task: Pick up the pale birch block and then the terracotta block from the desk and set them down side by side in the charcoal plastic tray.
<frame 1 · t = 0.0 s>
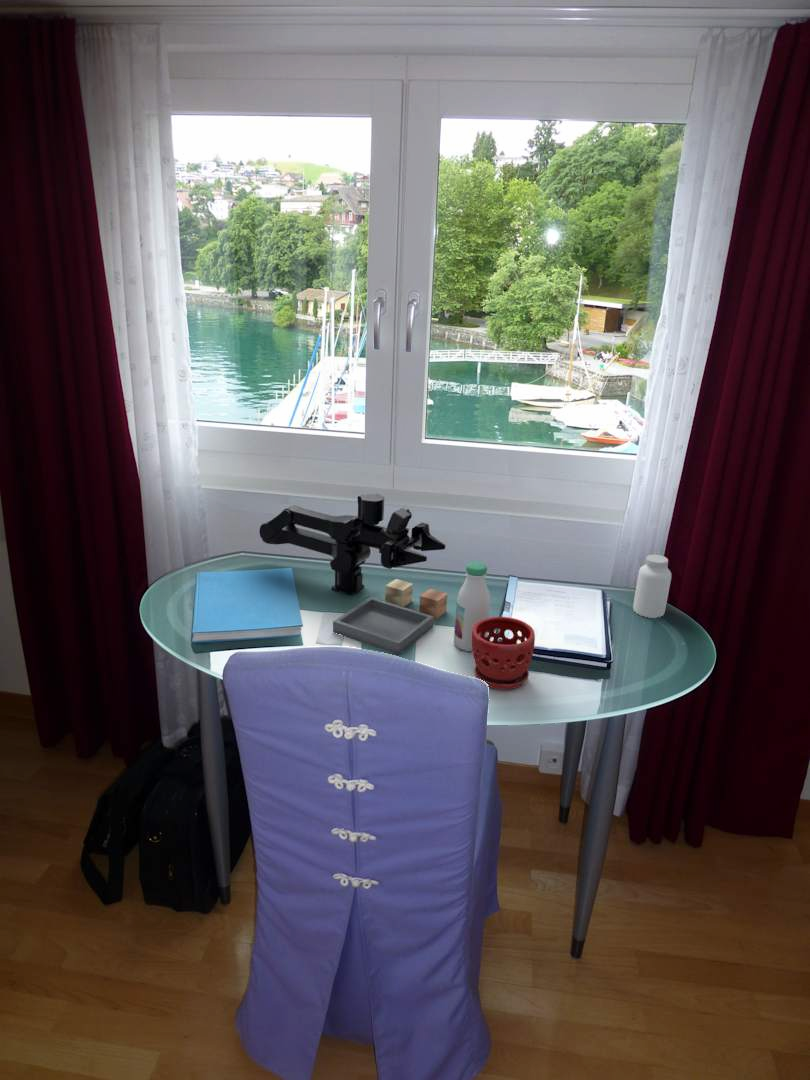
hand: (435, 552, 196), 17 cm above the table, tool horizontal, fingers open, 9 cm apart
terracotta block: (432, 612, 203), on the table
plant pot: (498, 679, 175), on the table
pill bottle: (648, 612, 209), on the table
charcoal tray: (383, 630, 193), on the table
milk bottle: (470, 645, 189), on the table
birch block: (398, 602, 208), on the table
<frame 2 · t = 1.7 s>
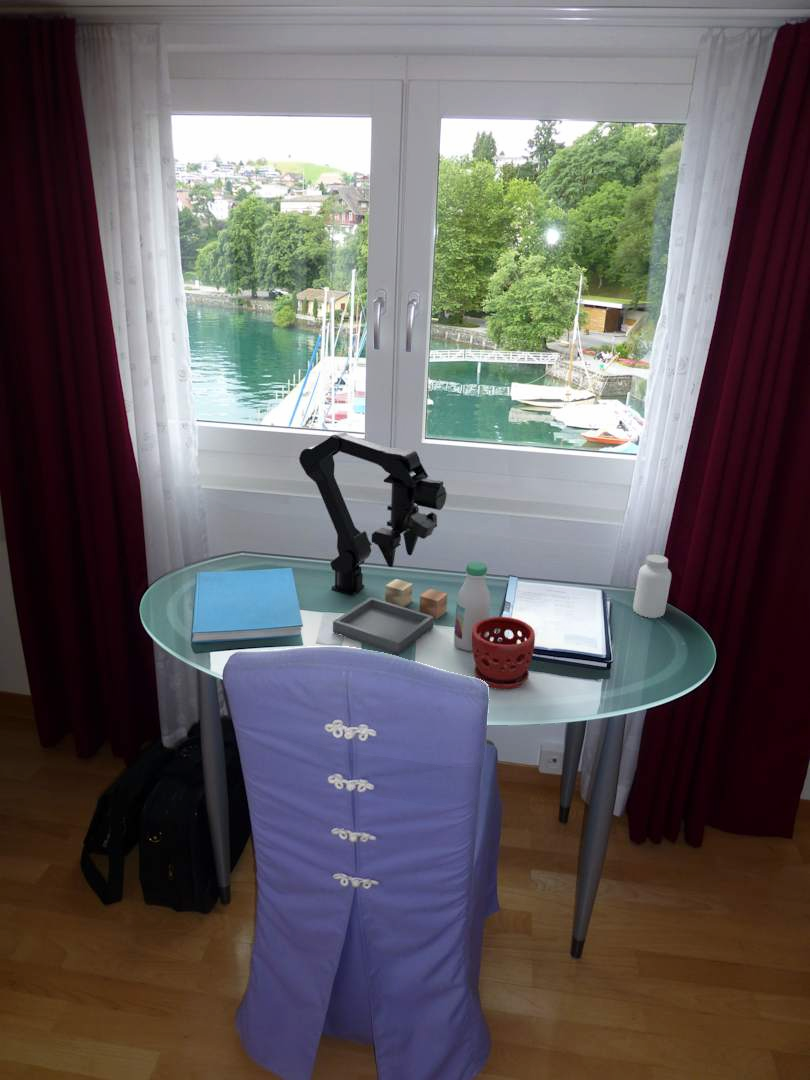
hand: (400, 560, 203), 11 cm above the table, tool pointing down, fingers open, 9 cm apart
nothing on the table moved.
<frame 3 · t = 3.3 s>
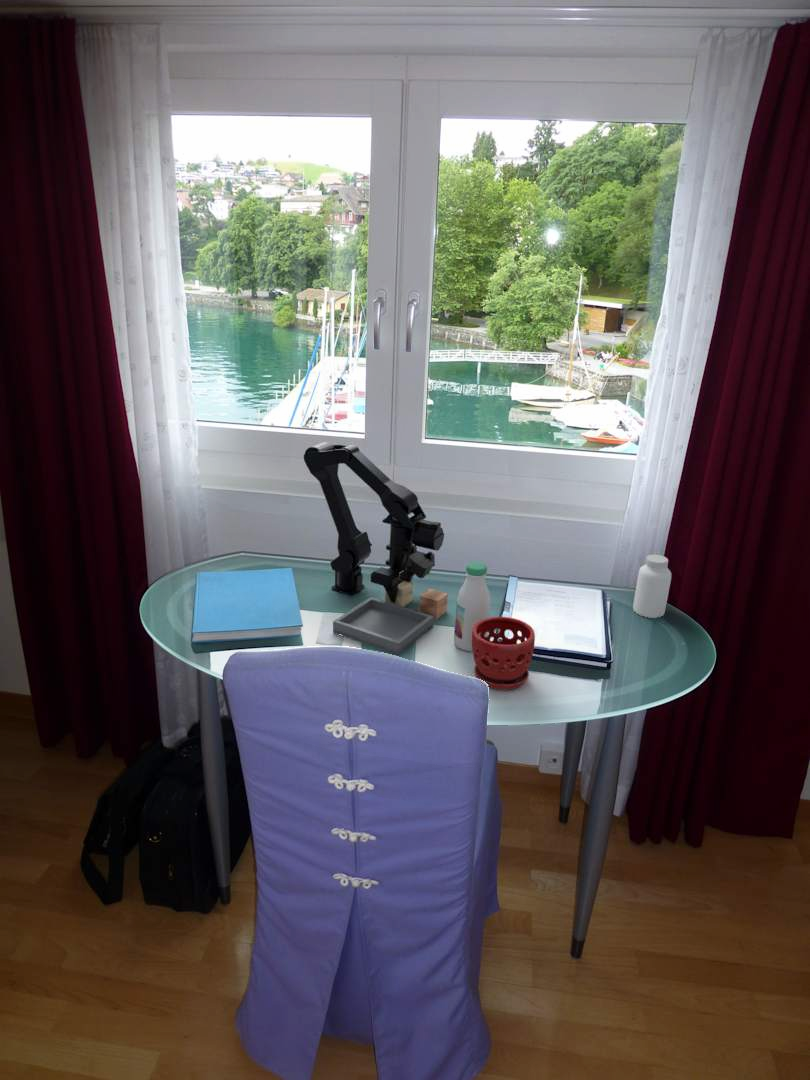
hand: (398, 598, 207), 1 cm above the table, tool pointing down, fingers closed on birch block, 5 cm apart
birch block: (398, 602, 208), on the table, touching gripper
everything else where it was.
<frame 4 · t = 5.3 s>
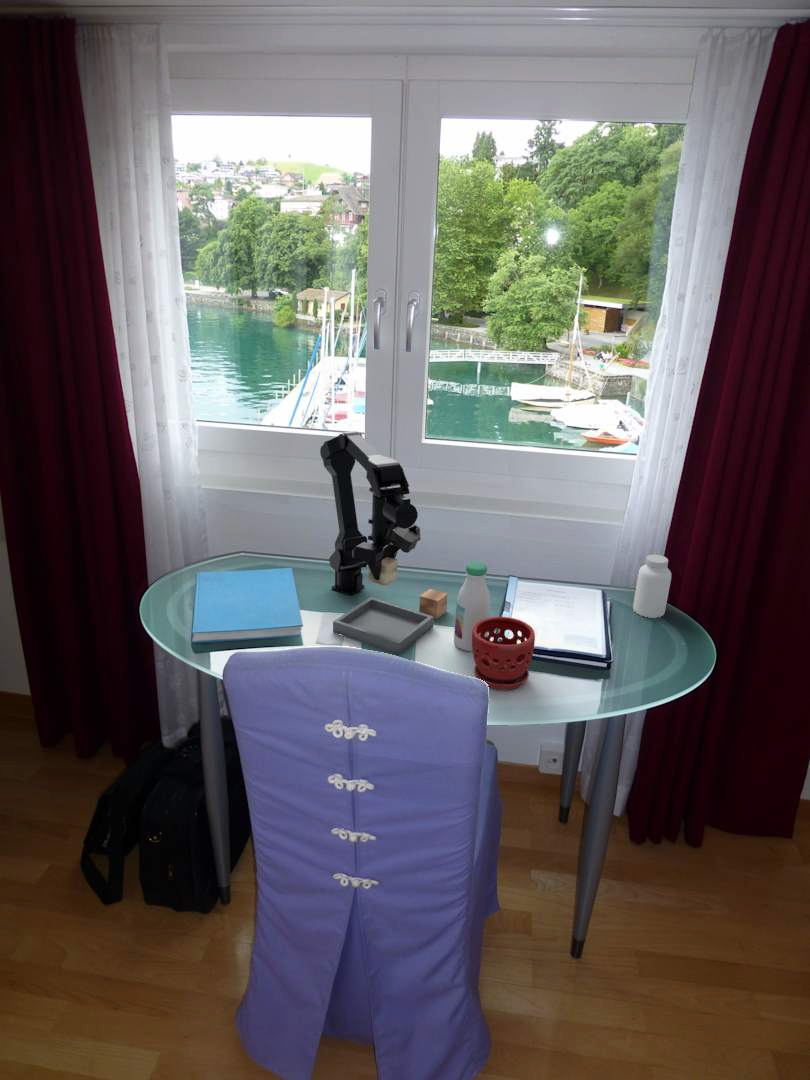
hand: (382, 575, 195), 11 cm above the table, tool pointing down, fingers closed on birch block, 5 cm apart
birch block: (382, 579, 195), point 10 cm above the table, touching gripper
everything else where it was.
when the fingers open (3 cm above the table, at t = 7.4 s): birch block drops 1 cm, resting on charcoal tray.
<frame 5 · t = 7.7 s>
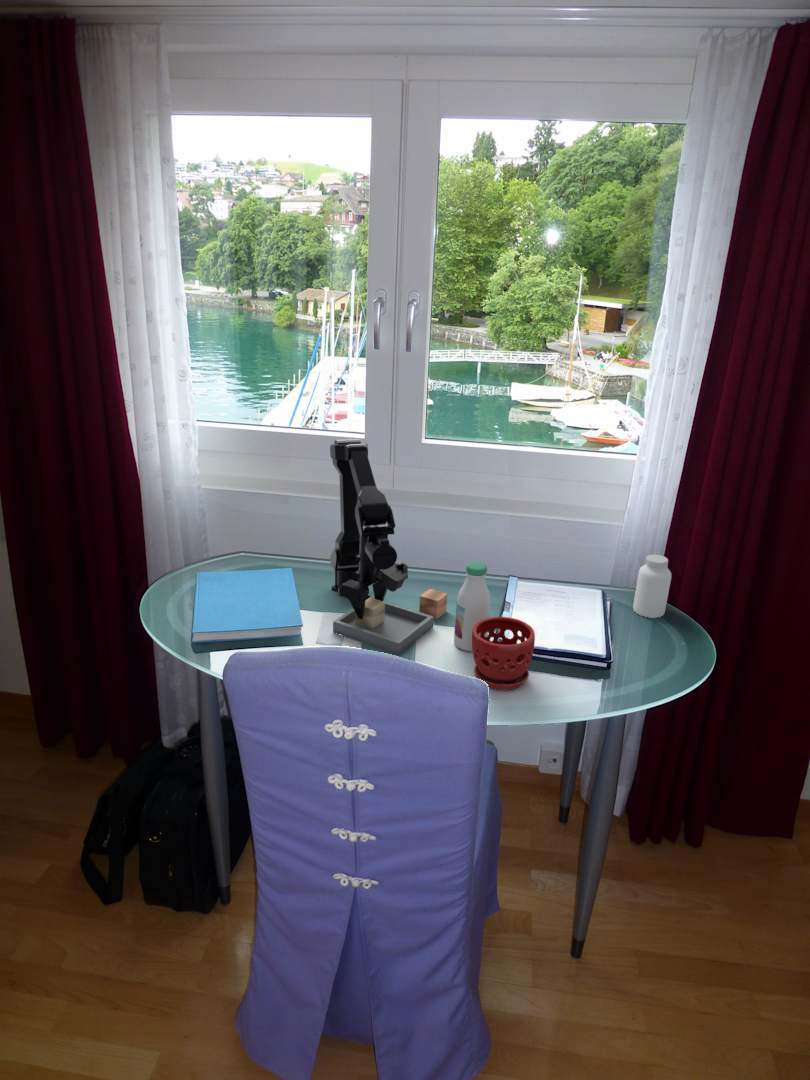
hand: (369, 612, 194), 3 cm above the table, tool pointing down, fingers open, 8 cm apart
birch block: (369, 621, 195), point 1 cm above the table, touching charcoal tray
everything else where it was.
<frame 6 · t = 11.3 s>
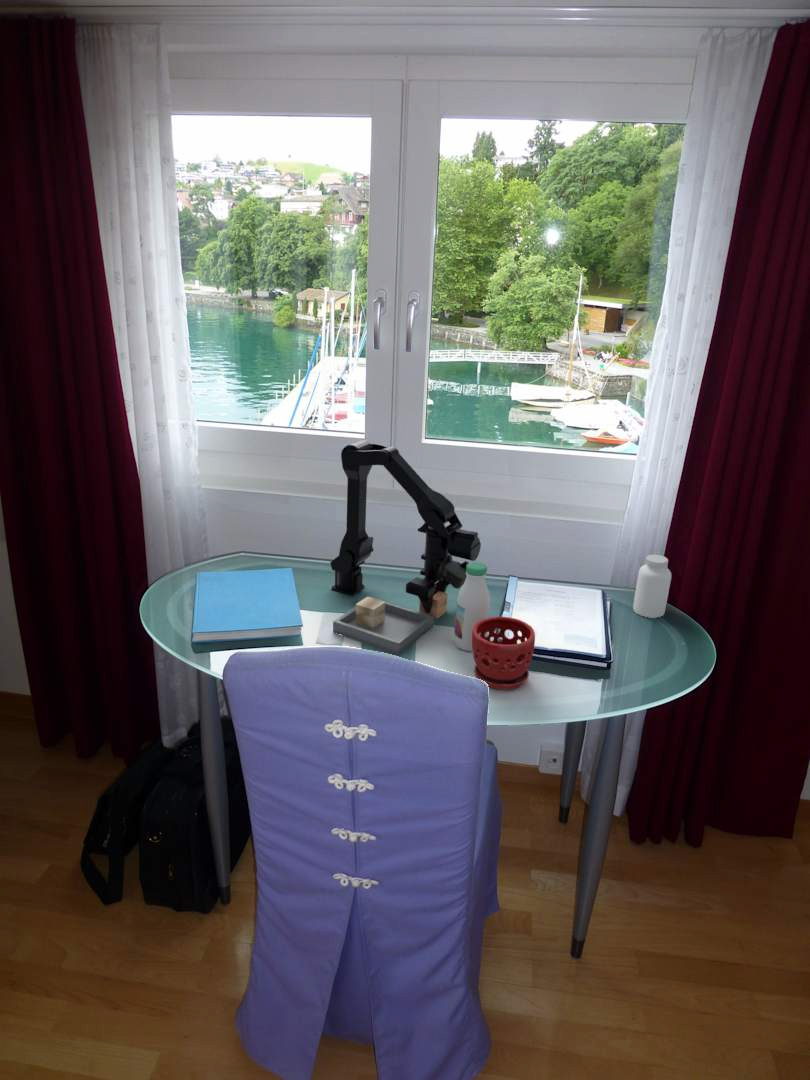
hand: (432, 608, 203), 1 cm above the table, tool pointing down, fingers closed on terracotta block, 5 cm apart
terracotta block: (432, 612, 203), on the table, touching gripper
everything else where it was.
when the fingers open (3 cm above the table, at t = 15.4 s): terracotta block drops 1 cm, resting on charcoal tray.
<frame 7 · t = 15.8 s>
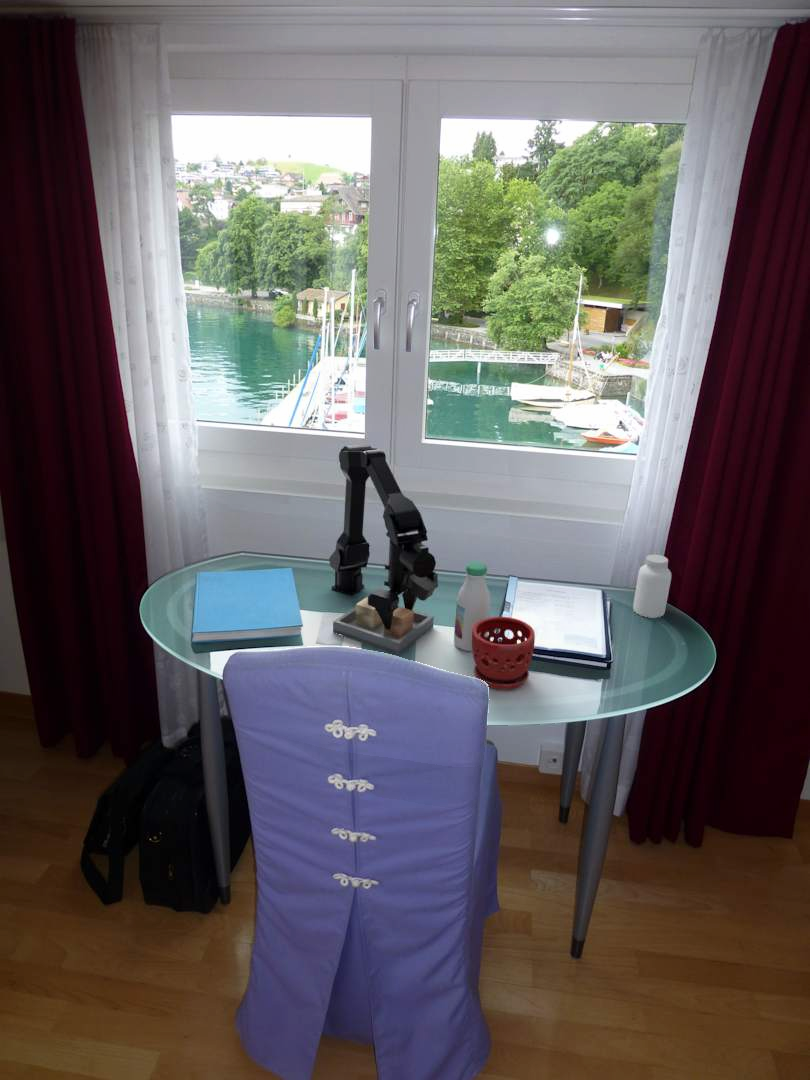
hand: (398, 621, 190), 3 cm above the table, tool pointing down, fingers open, 9 cm apart
terracotta block: (398, 631, 191), point 1 cm above the table, touching charcoal tray
everything else where it was.
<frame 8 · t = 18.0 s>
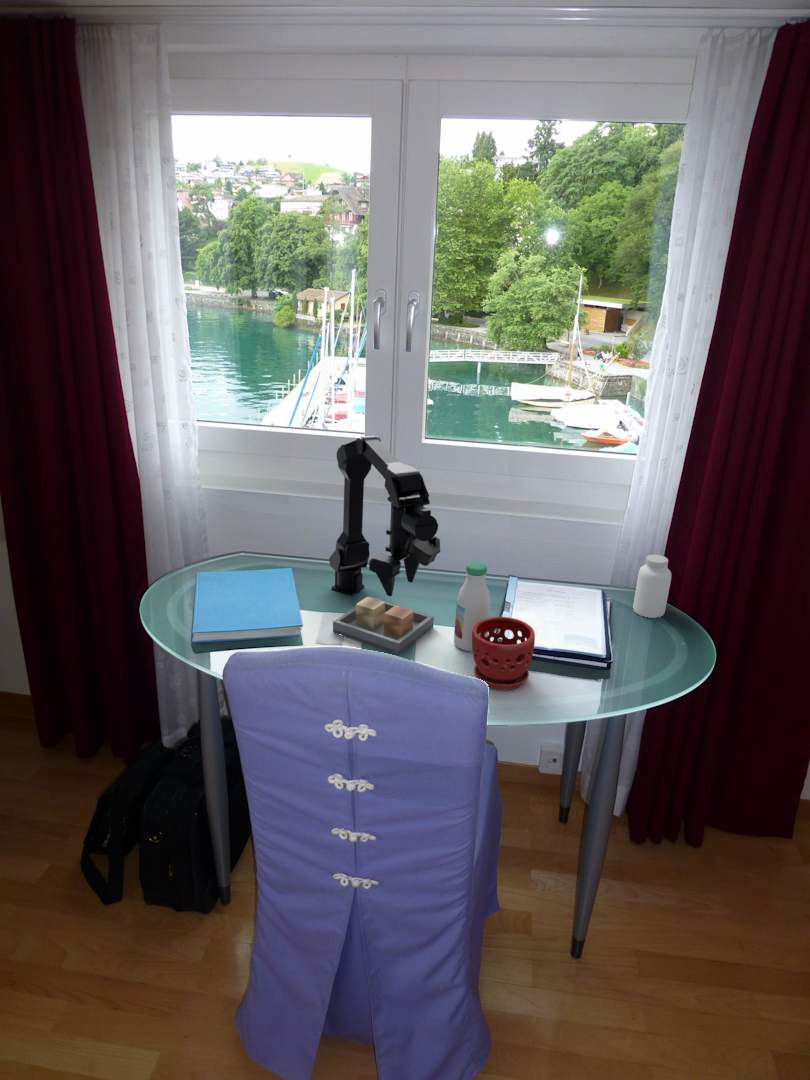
hand: (400, 588, 187), 12 cm above the table, tool pointing down, fingers open, 9 cm apart
nothing on the table moved.
at the end: birch block inside the target area on the charcoal tray (3.9 cm from its centre), point 1.0 cm above the charcoal tray's base; terracotta block inside the target area on the charcoal tray (4.0 cm from its centre), point 1.0 cm above the charcoal tray's base; the gripper is holding nothing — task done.
